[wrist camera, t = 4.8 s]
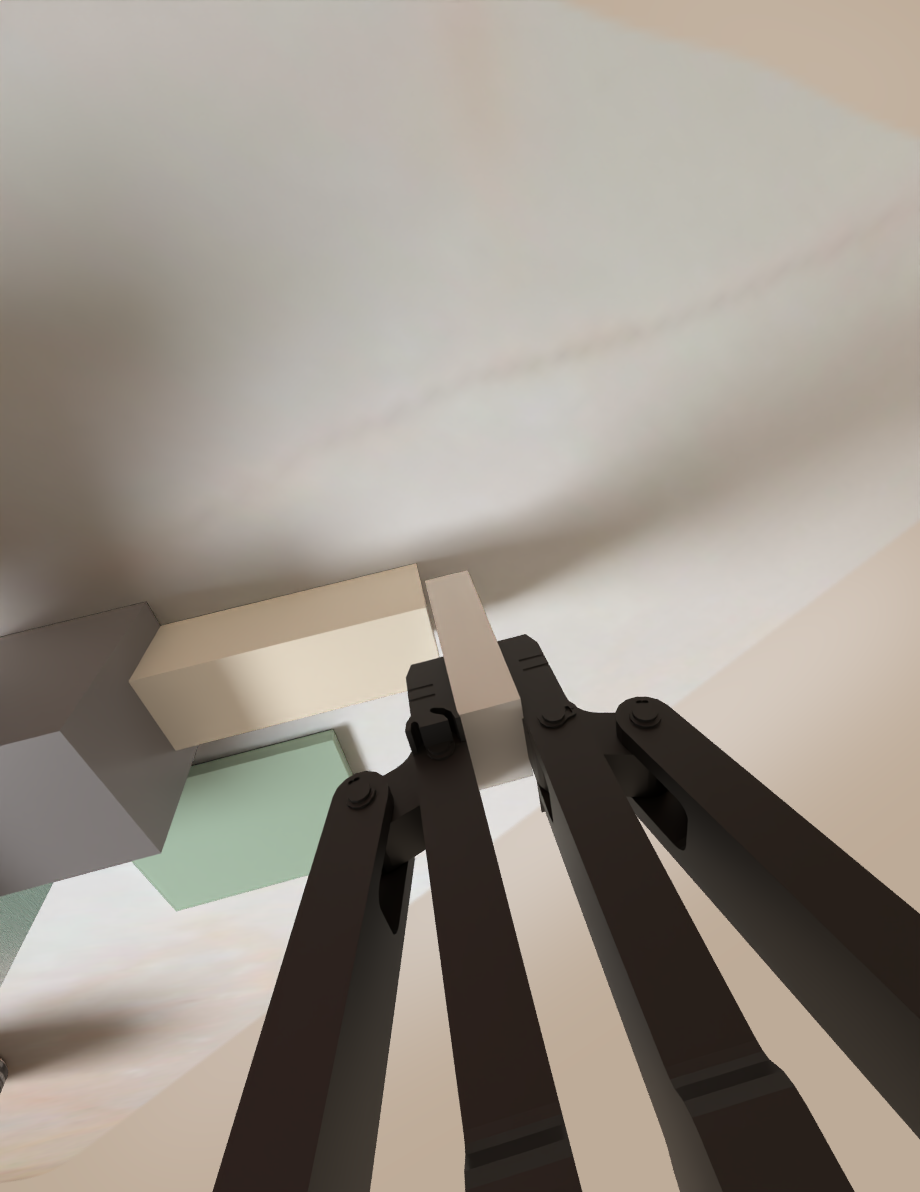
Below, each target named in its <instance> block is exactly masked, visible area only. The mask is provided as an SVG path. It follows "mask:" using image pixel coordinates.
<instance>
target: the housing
mask: <svg viewBox="0 0 920 1192" xmlns="http://www.w3.org/2000/svg"><path fill="white" fill-rule="evenodd" d="M52 884H53V882H52V883H49V884H45V885H41V886H37V887H34V888H30V889H26V890H23V891H19V892H15V893H11V894H8V895H4V896H0V986H1V984H2V982H3V980H4V979H5V977H6V975H7V973H8V971H9V969H10V967H11V965H12V963H13V961H14V959H15V957H16V955H17V953H18V951H19V949H20V947H21V945H22V943H23V941H24V939H25V937H26V935H27V933H28V931H29V929H30V927H31V925H32V923H33V922H34V920H35V918H36V916H37V914H38V912H39V910H40V908H41V906H42V904H43V902H44V900H45V898H46V896H47V894H48V892H49V890H50V888H51V886H52Z"/></svg>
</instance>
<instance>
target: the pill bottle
mask: <svg viewBox="0 0 920 1192" xmlns="http://www.w3.org/2000/svg"><path fill="white" fill-rule="evenodd" d="M7 1076H8V1068H7V1066H6V1064H5V1062H4V1061H3V1060H2V1059H0V1093H1V1091H2V1088H3V1086H4V1083H5V1081H6V1079H7Z"/></svg>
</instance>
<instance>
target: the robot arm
mask: <svg viewBox="0 0 920 1192" xmlns="http://www.w3.org/2000/svg"><path fill="white" fill-rule="evenodd" d="M425 584H426V588H427V592H428V596H429V600H430V604H431V608H432V612H433V616H434V620H435V624H436V628H437V632H438V636H439V640H440V644H441V648H442V652H443V657H440V658H436V659H432V660H428V661H424V662H420V663H416V664H412V665H411V666H410V669H409V671H408V673H407V676H406V684H407V691H408V698H409V706H410V713H411V717H410V718H409V720H408V721H407V723H406V729H405V733H406V736H407V739H408V742H409V744H410V747H411V750H412V752H411V754H410V755H409V757H408V758H407V759H406V760H405V762H404V763H403V764H401V765H400V766H399V767H397V768H396V769H394V770H392V771H391V772H389V773H387V774H386V775H384V776H382V775H380V774H379V773H377V772H371V771H364V772H360V773H356V774H354V775H352V776H350V777H349V778H347V779H345V780H344V781H343V782H342V783H341V784H340V785H339V786H338V787H337V789H336V791H335V793H334V795H333V797H332V801H331V804H330V807H329V810H328V814H327V817H326V820H325V824H324V827H323V830H322V833H321V837H320V840H319V843H318V847H317V850H316V853H315V857H314V860H313V863H312V866H311V870H310V873H309V876H308V880H307V883H306V886H305V889H304V893H303V896H302V899H301V903H300V906H299V909H298V912H297V916H296V919H295V922H294V926H293V929H292V932H291V935H290V939H289V942H288V945H287V949H286V952H285V955H284V958H283V962H282V965H281V968H280V972H279V975H278V978H277V981H276V985H275V988H274V991H273V995H272V998H271V1001H270V1004H269V1008H268V1011H267V1014H266V1018H265V1021H264V1024H263V1028H262V1031H261V1034H260V1038H259V1041H258V1044H257V1047H256V1051H255V1054H254V1057H253V1060H252V1064H251V1067H250V1071H249V1074H248V1077H247V1080H246V1083H245V1087H244V1090H243V1093H242V1097H241V1100H240V1103H239V1106H238V1110H237V1113H236V1116H235V1120H234V1123H233V1126H232V1129H231V1133H230V1136H229V1139H228V1143H227V1146H226V1149H225V1153H224V1156H223V1159H222V1163H221V1166H220V1169H219V1172H218V1176H217V1179H216V1182H215V1185H214V1189H213V1192H370V1185H371V1179H372V1171H373V1164H374V1155H375V1148H376V1141H377V1134H378V1127H379V1120H380V1112H381V1105H382V1097H383V1090H384V1083H385V1075H386V1068H387V1060H388V1053H389V1045H390V1038H391V1030H392V1024H393V1016H394V1009H395V1002H396V994H397V986H398V979H399V971H400V965H401V957H402V950H403V942H404V935H405V928H406V920H407V913H408V906H409V898H410V891H411V884H412V876H413V869H414V861H415V856H416V855H418V854H419V853H421V852H422V851H424V850H425V849H426V855H427V862H428V870H429V877H430V885H431V892H432V899H433V907H434V915H435V922H436V930H437V937H438V944H439V952H440V959H441V967H442V975H443V982H444V989H445V997H446V1005H447V1012H448V1020H449V1027H450V1034H451V1042H452V1049H453V1057H454V1064H455V1072H456V1079H457V1086H458V1095H459V1101H460V1109H461V1117H462V1124H463V1132H464V1141H465V1154H466V1155H465V1169H464V1174H465V1192H582V1189H581V1185H580V1181H579V1177H578V1174H577V1170H576V1166H575V1162H574V1158H573V1154H572V1150H571V1146H570V1142H569V1139H568V1135H567V1131H566V1127H565V1123H564V1120H563V1116H562V1112H561V1108H560V1104H559V1100H558V1096H557V1092H556V1088H555V1085H554V1081H553V1077H552V1073H551V1069H550V1065H549V1061H548V1057H547V1053H546V1049H545V1045H544V1041H543V1038H542V1034H541V1030H540V1026H539V1022H538V1018H537V1014H536V1010H535V1006H534V1003H533V999H532V995H531V991H530V987H529V983H528V979H527V975H526V971H525V967H524V963H523V960H522V956H521V952H520V948H519V944H518V940H517V936H516V932H515V928H514V924H513V921H512V917H511V913H510V909H509V905H508V901H507V897H506V893H505V889H504V885H503V881H502V878H501V874H500V870H499V866H498V862H497V858H496V854H495V850H494V846H493V842H492V838H491V835H490V831H489V827H488V823H487V819H486V815H485V811H484V807H483V803H482V799H481V796H480V792H479V790H482V789H485V788H489V787H493V786H496V785H500V784H504V783H507V782H511V781H515V780H518V779H522V778H526V777H529V776H533V772H534V774H535V777H536V780H537V786H538V792H539V798H540V804H541V811H542V812H546V815H547V817H548V820H549V823H550V825H551V828H552V831H553V833H554V836H555V839H556V842H557V845H558V847H559V850H560V853H561V856H562V858H563V861H564V864H565V867H566V869H567V872H568V875H569V877H570V880H571V883H572V886H573V888H574V891H575V894H576V896H577V899H578V902H579V905H580V907H581V910H582V913H583V916H584V918H585V921H586V924H587V927H588V929H589V932H590V935H591V937H592V940H593V943H594V946H595V949H596V951H597V954H598V957H599V959H600V962H601V965H602V968H603V970H604V973H605V976H606V978H607V981H608V984H609V987H610V989H611V992H612V995H613V998H614V1000H615V1003H616V1006H617V1008H618V1011H619V1014H620V1017H621V1020H622V1022H623V1025H624V1028H625V1031H626V1033H627V1036H628V1039H629V1041H630V1044H631V1047H632V1049H633V1052H634V1055H635V1058H636V1060H637V1063H638V1066H639V1068H640V1072H641V1074H642V1077H643V1080H644V1082H645V1085H646V1088H647V1091H648V1093H649V1096H650V1099H651V1102H652V1104H653V1107H654V1110H655V1112H656V1115H657V1118H658V1121H659V1123H660V1126H661V1129H662V1132H663V1135H664V1137H665V1140H666V1144H667V1147H668V1151H669V1155H670V1158H671V1162H672V1166H673V1170H674V1174H675V1177H676V1180H677V1183H678V1186H679V1190H680V1192H854V1190H853V1188H852V1186H851V1185H850V1183H849V1181H848V1179H847V1177H846V1176H845V1174H844V1172H843V1170H842V1168H841V1167H840V1165H839V1163H838V1161H837V1159H836V1158H835V1156H834V1154H833V1152H832V1150H831V1148H830V1147H829V1145H828V1143H827V1142H826V1139H825V1138H824V1136H823V1134H822V1132H821V1130H820V1129H819V1127H818V1125H817V1123H816V1121H815V1120H814V1118H813V1116H812V1114H811V1113H810V1111H809V1109H808V1107H807V1105H806V1104H805V1102H804V1101H803V1099H802V1097H801V1095H800V1094H799V1092H798V1091H797V1089H796V1088H795V1086H794V1084H793V1083H792V1082H791V1081H790V1079H789V1078H788V1076H787V1075H786V1074H785V1073H784V1071H783V1070H782V1069H780V1068H779V1067H778V1066H777V1065H776V1064H774V1063H773V1062H772V1061H771V1060H769V1058H768V1057H767V1056H766V1054H765V1053H764V1052H763V1050H762V1048H761V1047H760V1045H759V1043H758V1042H757V1040H756V1038H755V1036H754V1034H753V1033H752V1031H751V1029H750V1027H749V1025H748V1023H747V1021H746V1020H745V1018H744V1016H743V1014H742V1012H741V1010H740V1008H739V1006H738V1005H737V1003H736V1001H735V999H734V997H733V995H732V994H731V992H730V990H729V988H728V986H727V984H726V982H725V980H724V978H723V977H722V975H721V973H720V971H719V969H718V967H717V966H716V964H715V962H714V960H713V958H712V956H711V954H710V952H709V951H708V949H707V947H706V945H705V943H704V941H703V939H702V937H701V936H700V934H699V932H698V930H697V928H696V926H695V924H694V923H693V921H692V919H691V917H690V915H689V913H688V911H687V909H686V908H685V906H684V904H683V902H682V900H681V898H680V896H679V895H678V893H677V891H676V889H675V887H674V885H673V883H672V881H671V880H670V878H669V876H668V874H667V872H666V870H665V869H664V867H663V865H662V863H661V861H660V859H659V858H658V855H657V854H656V852H655V850H654V848H653V846H652V844H651V842H650V840H649V839H648V837H647V835H646V833H645V831H644V829H643V827H642V826H641V824H640V822H639V820H638V818H639V819H640V820H641V821H642V822H643V823H644V824H645V826H646V827H647V828H648V829H649V830H650V831H651V833H652V834H653V835H654V836H655V837H656V838H657V839H658V841H659V842H660V843H661V844H662V845H663V846H664V847H665V849H666V850H667V851H668V852H669V853H670V854H671V855H672V857H673V858H674V859H675V860H676V861H677V862H678V863H679V865H680V866H681V867H682V868H683V869H684V870H685V871H686V873H687V874H688V875H689V876H690V877H691V878H692V879H693V881H694V882H695V883H696V884H697V885H698V886H699V887H700V889H701V890H702V891H703V892H704V893H705V894H706V895H707V897H708V898H709V899H710V900H711V901H712V902H713V903H714V905H715V906H716V907H717V908H718V909H719V910H720V911H721V912H722V914H723V915H724V916H725V917H726V918H727V919H728V921H729V922H730V923H731V924H732V925H733V926H734V927H735V929H737V931H738V932H739V933H740V934H741V935H742V936H743V938H744V939H745V940H746V941H747V942H748V943H749V945H750V946H751V947H752V948H753V949H754V950H755V951H756V952H757V954H758V955H759V956H760V957H761V958H762V959H763V960H764V962H765V963H766V964H767V965H768V966H769V967H770V969H771V970H772V971H773V972H774V973H775V974H776V975H777V977H778V978H779V979H780V980H781V981H782V982H783V983H784V984H785V986H786V987H787V988H788V989H789V990H790V991H791V993H792V994H793V995H794V996H795V997H796V998H797V999H798V1000H799V1002H800V1003H801V1004H802V1005H803V1006H804V1007H805V1008H806V1010H807V1011H808V1012H809V1013H810V1014H811V1015H812V1017H813V1018H814V1019H815V1020H816V1021H817V1022H818V1023H819V1025H820V1026H821V1027H822V1028H823V1029H824V1030H825V1031H826V1032H827V1034H828V1035H829V1036H830V1037H831V1038H832V1039H833V1041H834V1042H835V1043H836V1044H837V1045H838V1046H839V1047H840V1049H841V1050H842V1051H843V1052H844V1053H845V1054H846V1055H847V1057H848V1058H849V1059H850V1060H851V1061H852V1062H853V1063H854V1065H855V1066H856V1067H857V1068H858V1069H859V1070H860V1071H861V1073H862V1074H863V1075H864V1076H865V1077H866V1078H867V1079H868V1080H869V1082H870V1083H871V1084H872V1085H873V1086H874V1087H875V1089H876V1090H877V1091H878V1092H879V1093H880V1094H881V1095H882V1097H883V1098H885V1100H886V1101H887V1102H888V1103H889V1104H890V1106H891V1107H892V1108H893V1109H894V1110H895V1111H896V1112H897V1114H898V1115H899V1116H900V1117H901V1118H902V1119H903V1120H904V1121H905V1123H906V1124H907V1125H908V1126H909V1127H910V1128H911V1129H912V1131H913V1132H914V1133H915V1134H916V1135H917V1136H918V1138H919V1139H920V914H919V913H918V912H917V911H916V910H914V909H913V908H912V907H911V906H910V905H908V904H907V903H906V902H905V901H904V900H902V899H901V898H900V897H899V896H898V895H896V894H895V893H894V892H893V891H891V890H890V889H889V888H888V887H887V886H885V885H884V884H883V883H882V882H881V881H879V880H878V879H877V878H876V877H874V876H873V875H872V874H871V873H870V872H869V871H867V870H866V869H865V868H864V867H862V866H861V865H860V864H859V863H858V862H856V861H855V860H854V859H853V858H852V857H850V856H849V855H848V854H847V853H845V852H844V851H843V850H842V849H841V848H840V847H838V846H837V845H836V844H835V843H834V842H832V841H831V840H830V839H829V838H827V837H826V836H825V835H824V834H823V833H821V832H820V831H819V830H818V829H817V828H815V827H814V826H813V825H812V824H811V823H809V822H808V821H807V820H806V819H804V818H803V817H802V816H801V815H800V814H798V813H797V812H796V811H795V810H794V809H792V808H791V807H790V806H789V805H788V804H786V803H785V802H784V801H783V800H782V799H780V798H779V797H778V796H777V795H775V794H774V793H773V792H772V791H771V790H769V789H768V788H767V787H766V786H765V785H763V784H762V783H761V782H760V781H759V780H757V779H756V778H755V777H754V776H753V775H751V774H750V773H749V772H748V771H746V770H745V769H744V768H743V767H741V766H740V765H739V764H738V763H737V762H736V761H734V760H733V759H732V758H731V757H729V756H728V755H727V754H726V753H725V752H723V751H722V750H721V749H720V748H719V747H718V746H716V745H715V744H713V742H711V741H710V740H709V739H708V738H706V737H705V736H704V735H703V734H702V733H701V732H699V731H698V730H697V729H696V728H695V727H693V726H692V725H691V724H690V723H689V722H687V721H686V720H685V719H684V718H682V717H681V716H680V715H679V714H678V713H676V712H675V711H674V710H673V709H672V708H670V707H669V706H668V705H667V704H665V703H663V702H661V701H660V700H658V699H654V698H650V697H634V698H631V699H628V700H625V701H624V702H623V703H621V704H620V705H619V706H618V708H617V711H616V713H594V712H588V711H584V710H581V709H579V708H577V707H576V705H575V704H573V703H571V702H569V700H568V699H567V698H566V696H565V694H564V692H563V690H562V688H561V686H560V685H559V683H558V681H557V679H556V677H555V675H554V673H553V671H552V669H551V667H550V665H548V662H547V660H546V658H545V656H544V655H543V652H542V650H541V648H540V646H539V644H538V643H537V642H536V641H535V640H533V639H532V638H530V637H529V636H527V635H526V634H524V635H520V636H516V637H513V638H509V639H505V640H501V641H497V640H496V638H495V635H494V633H493V630H492V628H491V626H490V623H489V621H488V618H487V616H486V613H485V611H484V609H483V606H482V604H481V601H480V599H479V596H478V594H477V591H476V589H475V587H474V584H473V582H472V579H471V577H470V574H469V572H468V570H466V571H462V572H458V573H454V574H450V575H446V576H442V577H438V578H434V579H430V580H426V581H425ZM532 769H533V772H532ZM636 815H637V816H636ZM637 817H638V818H637Z"/></svg>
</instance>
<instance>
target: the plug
mask: <svg viewBox="0 0 920 1192" xmlns="http://www.w3.org/2000/svg"><path fill="white" fill-rule="evenodd" d="M436 658H440V657H439V653H438V648H437V644H436V640H435V635H434V631H433V627H432V623H431V619H430V615H429V611H428V608H427V604H426V600H425V596H424V592H423V588H422V584H421V580H420V576H419V573H418V569H417V565H416V563H415V564H411V565H407V566H403V567H399V568H395V569H391V570H387V571H383V572H379V573H374V574H370V575H366V576H362V577H358V578H354V579H350V580H346V581H342V582H338V583H334V584H330V585H325V586H321V587H317V588H313V589H309V590H305V591H301V592H297V593H293V594H289V595H285V596H280V597H276V598H272V599H268V600H264V601H260V602H256V603H252V604H248V605H244V606H240V607H236V608H231V609H227V610H223V611H219V612H215V613H211V614H207V615H203V616H199V617H195V618H191V619H186V620H182V621H178V622H174V623H170V624H166V625H162V626H160V624H159V622H158V621H157V619H156V617H155V616H154V614H153V612H152V611H151V609H150V607H149V606H148V604H147V602H143V603H139V604H135V605H130V606H126V607H122V608H118V609H114V610H110V611H106V612H102V613H97V614H93V615H89V616H85V617H81V618H77V619H73V620H68V621H64V622H60V623H56V624H52V625H48V626H44V627H40V628H35V629H31V630H27V631H23V632H19V633H15V634H11V635H6V636H2V637H0V896H4V895H8V894H11V893H15V892H19V891H23V890H26V889H30V888H34V887H37V886H41V885H45V884H49V883H52V882H56V881H60V880H64V879H67V878H71V877H75V876H79V875H82V874H86V873H90V872H93V871H97V870H101V869H105V868H108V867H112V866H116V865H120V864H123V863H127V862H131V861H134V860H138V859H142V858H146V857H149V856H153V855H157V854H161V852H162V850H163V847H164V844H165V841H166V838H167V835H168V832H169V829H170V826H171V823H172V820H173V818H174V815H175V812H176V809H177V806H178V803H179V800H180V797H181V794H182V791H183V788H184V786H185V783H186V780H187V777H188V774H189V771H190V768H191V765H192V762H193V759H194V756H195V754H196V751H197V748H198V745H200V744H204V743H208V742H212V741H215V740H219V739H223V738H227V737H231V736H235V735H239V734H243V733H246V732H250V731H254V730H258V729H262V728H266V727H270V726H274V725H277V724H281V723H285V722H289V721H293V720H297V719H301V718H305V717H308V716H312V715H316V714H320V713H324V712H328V711H332V710H336V709H339V708H343V707H347V706H351V705H355V704H359V703H363V702H367V701H370V700H374V699H378V698H382V697H386V696H390V695H394V694H398V693H402V692H405V691H407V684H406V676H407V673H408V671H409V669H410V666H411V665H412V664H416V663H420V662H424V661H428V660H432V659H436Z"/></svg>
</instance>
